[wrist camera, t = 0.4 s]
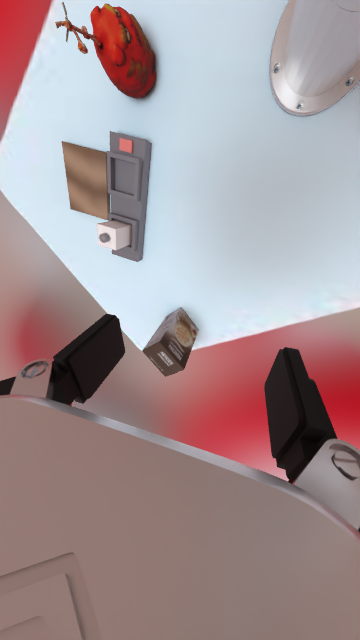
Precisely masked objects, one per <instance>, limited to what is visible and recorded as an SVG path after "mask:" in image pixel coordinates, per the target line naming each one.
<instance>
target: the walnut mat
mask: <svg viewBox="0 0 360 640" xmlns="http://www.w3.org/2000/svg"><path fill="white" fill-rule="evenodd" d="M62 147H63V154H64V162H65V169H66V177H67V184H68V192H69V199H70V207H71V209H73V210H76V211H79V212H83V213H86V214H89V215H92V216H96V217H99V218H102V219H106V220H109V215H108V213H110V193H108V177H107V153H105V152H101V151H97V150H93V149H90V148H86V147H82V146H78V145H74V144H70V143H66V142H62Z"/></svg>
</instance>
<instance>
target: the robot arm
mask: <svg viewBox="0 0 360 640" xmlns="http://www.w3.org/2000/svg"><path fill="white" fill-rule="evenodd" d="M275 69H278V72H277V73H274V70H275ZM269 73H270V84H271V88H272V92H273V95H274V97H275V99H276V101H277V103H278V104H279V105H280V107H281V108H282V109H283V110H285V111H286V112H288V113H289V114H293V115H296V116H308V115H312V114H316V113H318V112H321V111H323V110H325V109H327V108H328V107H330V106H331V105H333V104H334V103H336V102H337V101H338V100H340V99H341V98H342V97H343V96H344V95H345V94H346V93H348V92H349V91H350V90H351V89H352V87H353V86H354V85H355V84H356V83H357V82H358V81H359V79H360V0H289V1H288V3H287V5H286V8H285V10H284V12H283V14H282V16H281V19H280V22H279V24H278V27H277V30H276V33H275V37H274V42H273V46H272V51H271V57H270V71H269ZM346 82H349V86H346ZM298 105H300V106H301V108H300V109H297V106H298ZM124 353H125V347H124V342H123V338H122V332H121V327H120V322H119V319H118V318H117V317H116V316H115V315H110V314H105V315H104V316H103V317H102V318H100V319H99V320H98V321H97V322H95V324H93V325H92V326H91V327H90V328H88V329H87V330H86V331H84V332H83V333H82V334H81V335H79V336H78V337H77V338H76V339H75V340H73V341H72V342H71V343H70V344H69V345H67V346H66V347H65V348H64V349H62V350H61V351H60V352H59V353H58V354H56V355H55V356H54V357H53V358H54V361H53V362H51V361H50V360H48V359H39V360H35V361H32V362H30V363H29V364H27V365H25V366H24V367H22V369H20V370H19V372H18V374H17V376H16V377H12V378H9V379H6V380H2V381H0V640H360V451H359V450H358V449H357V448H355V447H354V446H352V445H351V444H349V443H347V442H345V441H343V440H339V439H337V436H336V434H335V431H334V429H333V426H332V424H331V421H330V418H329V416H328V414H327V411H326V408H325V406H324V403H323V401H322V398H321V396H320V393H319V391H318V388H317V386H316V383H315V382H314V381H313V380H312V379H309V377H308V374H307V371H306V369H305V366H304V363H303V361H302V358H301V355H300V353H299V350H297V349H292V348H287V347H285V348H284V349H280V350H279V352H278V355H277V357H276V359H275V361H274V364H273V366H272V368H271V371H270V373H269V375H268V378H267V380H266V382H265V398H266V407H267V416H268V425H269V434H270V443H271V452H272V456H273V458H276V461H277V467H279V468H282V469H285V470H286V475H287V478H288V479H289V481H288V482H287V481H285V480H282V479H280V478H278V477H275V476H273V475H270V474H268V473H266V472H263V471H261V470H258V469H255V468H252V467H249V466H246V465H244V464H241V463H238V462H235V461H233V460H230V459H227V458H224V457H221V456H218V455H216V454H212V453H209V452H206V451H204V450H201V449H198V448H195V447H192V446H189V445H186V444H183V443H180V442H177V441H174V440H171V439H169V438H166V437H162V436H159V435H157V434H154V433H151V432H148V431H145V430H142V429H139V428H136V427H133V426H130V425H127V424H124V423H121V422H118V421H115V420H112V419H108V418H106V417H103V416H100V415H97V414H94V413H91V412H88V411H85V410H81V409H78V408H76V407H72V405H71V404H72V402H73V401H74V400H75V401H76V402H79V403H84V402H85V401H86V400H87V399H89V398H90V397H91V396H92V395H93V394H94V392H95V391H96V390H97V388H98V387H99V386H100V384H102V382H103V381H104V380H105V378H106V377H107V376H108V375H109V373H110V372H111V371H112V370H113V368H114V367H115V366H116V364H117V363H118V362H119V361H120V359H121V358H122V357H123V355H124Z"/></svg>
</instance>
